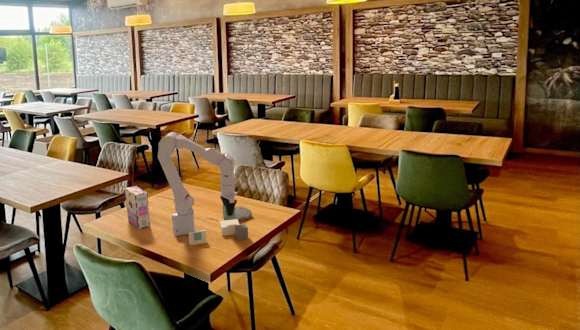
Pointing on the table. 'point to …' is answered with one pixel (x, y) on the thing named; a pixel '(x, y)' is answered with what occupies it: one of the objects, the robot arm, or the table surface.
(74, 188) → the table surface
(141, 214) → the candy box
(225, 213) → the teal block
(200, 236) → the placard
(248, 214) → the stone block
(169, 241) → the table surface
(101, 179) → the table surface
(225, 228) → the cream base block
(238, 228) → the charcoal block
